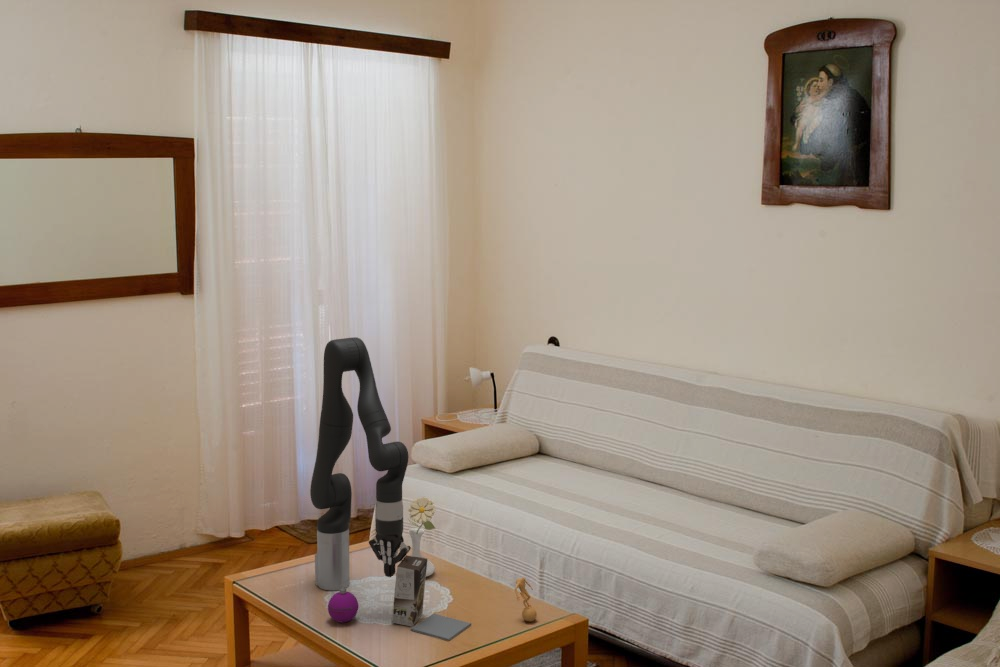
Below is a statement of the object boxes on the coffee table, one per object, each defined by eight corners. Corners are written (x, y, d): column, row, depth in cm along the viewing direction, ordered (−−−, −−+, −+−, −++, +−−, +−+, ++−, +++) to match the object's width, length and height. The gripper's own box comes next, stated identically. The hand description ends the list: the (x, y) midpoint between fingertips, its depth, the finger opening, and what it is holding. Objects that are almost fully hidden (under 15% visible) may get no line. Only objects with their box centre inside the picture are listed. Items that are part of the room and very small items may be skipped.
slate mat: (410, 630, 266) (410, 628, 266) (433, 615, 275) (433, 613, 275) (448, 641, 260) (448, 638, 260) (471, 625, 269) (471, 623, 269)
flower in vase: (389, 576, 303) (388, 496, 299) (413, 564, 312) (413, 487, 308) (423, 586, 295) (422, 504, 292) (446, 574, 305) (447, 494, 301)
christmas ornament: (362, 616, 275) (362, 581, 273) (352, 629, 267) (351, 593, 265) (334, 613, 276) (334, 578, 275) (323, 626, 268) (322, 590, 267)
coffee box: (413, 627, 268) (419, 570, 265) (390, 623, 269) (396, 566, 267) (423, 613, 277) (428, 558, 274) (400, 609, 278) (405, 554, 275)
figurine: (528, 628, 268) (529, 585, 266) (508, 623, 271) (509, 581, 269) (542, 616, 275) (543, 575, 273) (523, 612, 278) (523, 570, 276)
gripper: (361, 514, 272) (361, 575, 275) (401, 523, 266) (401, 585, 268) (377, 507, 279) (378, 566, 281) (417, 515, 272) (417, 576, 275)
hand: (389, 575), depth 275 cm, fingers closed
